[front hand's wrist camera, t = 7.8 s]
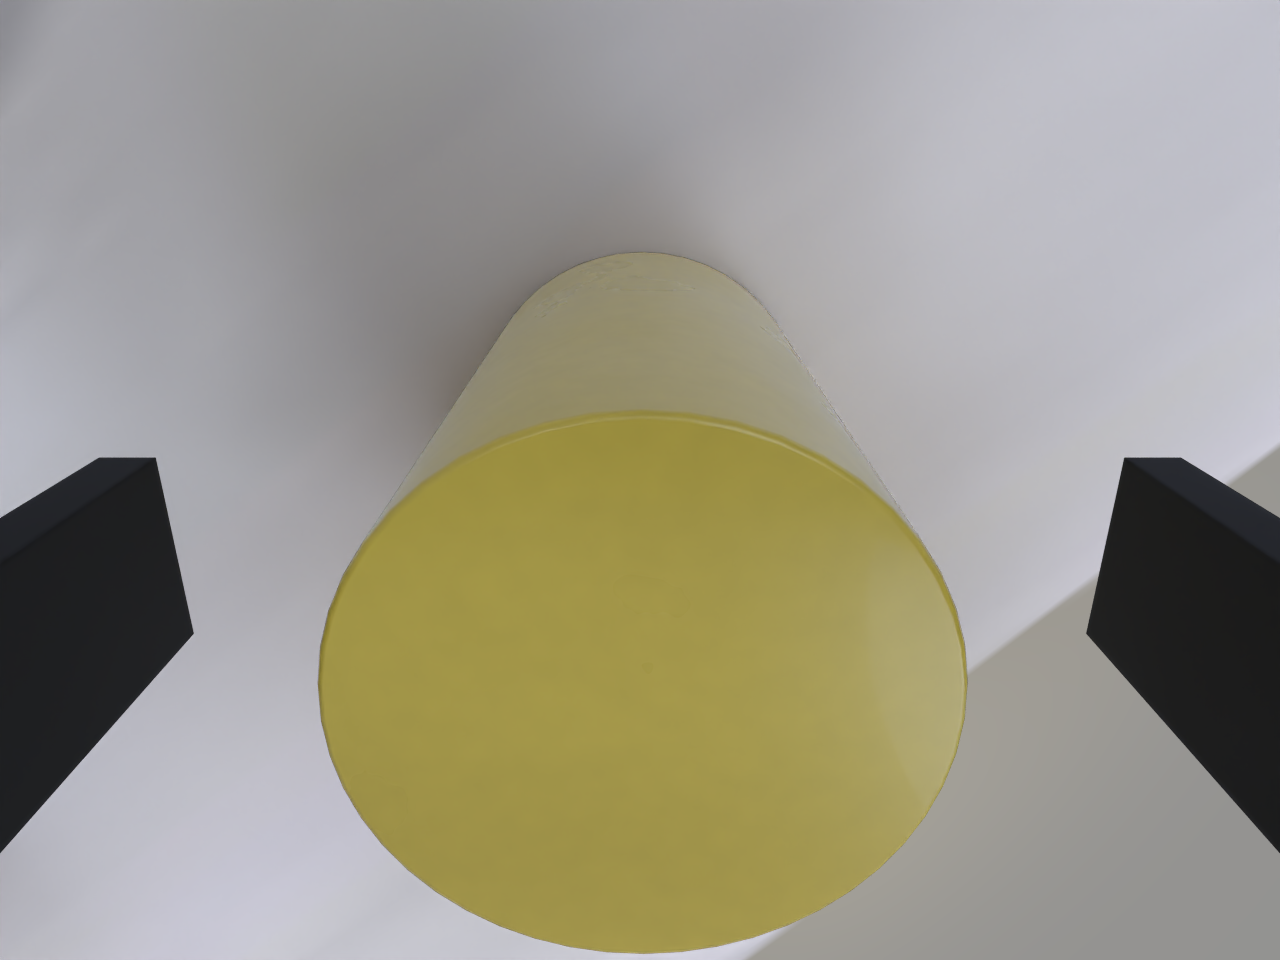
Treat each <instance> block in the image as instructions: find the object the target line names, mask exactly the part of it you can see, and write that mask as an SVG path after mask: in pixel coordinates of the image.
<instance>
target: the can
mask: <svg viewBox="0 0 1280 960" xmlns="http://www.w3.org/2000/svg"><path fill="white" fill-rule="evenodd" d="M967 683H968V678H967V665H966V652H965V643H964V638H963V634H962V630H961V626H960V622H959V618H958V614H957V609H956V607H955V604H954V602H953V599H952V597H951V595H950V592H949V590H948V587H947V585H946V583H945V580H944V578H943V576H942V573H941V571H940V570H939V568H938V567H937V565H936V563H935V562H934V560H933V558H932V557H931V555H930V554H929V552H928V550H927V549H926V547H925V546H924V544H923V542H922V541H921V539H920V538H919V536H918V535H917V533H916V532H915V530H914V529H913V527H912V526H911V524H910V523H909V521H908V520H907V518H906V517H905V515H904V514H903V512H902V511H901V509H900V508H899V506H898V505H897V503H896V502H895V500H894V499H893V497H892V496H891V494H890V493H889V491H888V490H887V488H886V487H885V485H884V484H883V482H882V481H881V479H880V478H879V476H878V475H877V473H876V472H875V470H874V469H873V467H872V466H871V464H870V463H869V461H868V460H867V458H866V457H865V455H864V454H863V452H862V451H861V449H860V448H859V446H858V445H857V444H856V442H855V441H854V439H853V438H852V436H851V435H850V433H849V432H848V430H847V429H846V427H845V426H844V424H843V423H842V421H841V420H840V418H839V417H838V415H837V414H836V412H835V411H834V409H833V408H832V406H831V405H830V403H829V402H828V400H827V399H826V397H825V396H824V394H823V393H822V391H821V390H820V388H819V387H818V385H817V384H816V382H815V381H814V379H813V378H812V376H811V375H810V373H809V372H808V370H807V369H806V367H805V366H804V364H803V363H802V361H801V360H800V358H799V357H798V355H797V354H796V352H795V351H794V349H793V348H792V346H791V345H790V344H789V342H788V341H787V339H786V338H785V336H784V335H783V333H782V332H781V330H780V329H779V327H778V326H777V324H776V323H775V321H774V320H773V318H772V317H771V316H770V314H769V313H768V312H767V311H766V310H765V308H764V307H763V306H762V305H761V304H760V302H759V301H758V300H757V299H756V298H754V297H753V296H752V295H751V294H750V293H749V292H748V291H747V290H746V289H745V288H743V287H742V286H741V285H739V284H738V283H736V282H735V281H734V280H732V279H731V278H729V277H728V276H726V275H725V274H723V273H721V272H719V271H717V270H715V269H713V268H711V267H709V266H707V265H704V264H702V263H699V262H696V261H693V260H690V259H687V258H683V257H678V256H673V255H668V254H663V253H648V252H636V253H622V254H615V255H611V256H606V257H601V258H597V259H594V260H591V261H588V262H585V263H583V264H580V265H577V266H575V267H573V268H571V269H569V270H567V271H565V272H563V273H561V274H559V275H558V276H556V277H555V278H553V279H552V280H550V281H549V282H548V283H546V284H545V285H543V286H542V287H540V288H539V289H538V290H537V291H536V292H535V293H534V294H533V295H532V296H531V297H530V298H528V299H527V300H526V301H525V302H524V303H523V305H522V306H521V307H520V308H519V310H518V311H517V312H516V313H515V314H514V316H513V317H512V318H511V319H510V321H509V322H508V324H507V325H506V327H505V329H504V330H503V332H502V333H501V335H500V336H499V338H498V339H497V341H496V342H495V344H494V345H493V347H492V348H491V350H490V351H489V353H488V354H487V356H486V357H485V359H484V360H483V362H482V363H481V365H480V366H479V368H478V369H477V371H476V372H475V374H474V375H473V377H472V378H471V380H470V381H469V383H468V384H467V386H466V387H465V389H464V390H463V392H462V393H461V395H460V396H459V398H458V399H457V401H456V402H455V404H454V405H453V407H452V408H451V410H450V411H449V413H448V414H447V416H446V417H445V419H444V420H443V422H442V423H441V425H440V426H439V428H438V429H437V431H436V432H435V434H434V435H433V437H432V438H431V440H430V441H429V443H428V445H427V446H426V448H425V449H424V451H423V452H422V454H421V455H420V457H419V458H418V460H417V461H416V463H415V464H414V466H413V467H412V469H411V470H410V472H409V473H408V475H407V476H406V478H405V479H404V481H403V482H402V484H401V485H400V487H399V488H398V490H397V491H396V493H395V494H394V496H393V497H392V499H391V500H390V502H389V503H388V505H387V506H386V508H385V509H384V511H383V512H382V514H381V515H380V517H379V518H378V520H377V521H376V523H375V524H374V526H373V527H372V529H371V530H370V532H369V533H368V535H367V536H366V538H365V539H364V541H363V543H362V544H361V546H360V548H359V549H358V551H357V552H356V554H355V556H354V557H353V559H352V561H351V562H350V564H349V566H348V567H347V569H346V571H345V572H344V574H343V576H342V578H341V581H340V583H339V586H338V588H337V591H336V593H335V596H334V598H333V601H332V603H331V605H330V608H329V610H328V615H327V619H326V623H325V627H324V632H323V636H322V640H321V645H320V655H319V670H318V692H319V703H320V714H321V722H322V726H323V730H324V734H325V738H326V742H327V746H328V750H329V754H330V757H331V760H332V762H333V764H334V767H335V769H336V772H337V774H338V776H339V779H340V781H341V784H342V786H343V788H344V790H345V792H346V793H347V795H348V797H349V798H350V800H351V802H352V803H353V805H354V807H355V809H356V810H357V812H358V814H359V815H360V817H361V818H362V820H363V821H364V822H365V824H366V825H367V826H368V827H369V829H370V830H371V831H372V832H373V834H374V835H375V836H376V837H377V839H378V840H379V841H380V843H381V844H382V845H383V846H384V847H385V848H386V849H387V850H388V851H389V852H390V853H391V854H392V855H393V856H394V857H395V858H396V859H397V860H398V861H399V862H400V863H401V864H402V865H403V866H404V867H405V868H406V869H407V870H408V871H410V872H411V873H412V874H414V875H415V876H416V877H417V878H419V879H420V880H421V881H423V882H424V883H425V884H426V885H428V886H429V887H430V888H432V889H433V890H434V891H435V892H437V893H439V894H440V895H442V896H443V897H445V898H447V899H448V900H450V901H452V902H453V903H455V904H457V905H458V906H460V907H462V908H463V909H465V910H467V911H469V912H471V913H473V914H475V915H477V916H479V917H481V918H483V919H486V920H488V921H490V922H492V923H494V924H496V925H498V926H501V927H503V928H506V929H509V930H512V931H515V932H518V933H521V934H523V935H526V936H529V937H532V938H535V939H539V940H543V941H548V942H552V943H556V944H560V945H564V946H568V947H574V948H581V949H588V950H595V951H602V952H615V953H637V954H649V953H669V952H684V951H690V950H697V949H704V948H711V947H717V946H722V945H726V944H730V943H734V942H738V941H742V940H746V939H750V938H754V937H756V936H759V935H762V934H765V933H768V932H770V931H773V930H776V929H779V928H782V927H784V926H787V925H789V924H791V923H794V922H796V921H798V920H800V919H802V918H804V917H806V916H808V915H810V914H812V913H815V912H817V911H819V910H821V909H822V908H824V907H826V906H827V905H829V904H830V903H832V902H834V901H835V900H837V899H838V898H840V897H842V896H843V895H845V894H847V893H848V892H850V891H851V890H853V889H854V888H855V887H856V886H858V885H859V884H860V883H862V882H863V881H864V880H865V879H867V878H868V877H869V876H870V875H872V874H873V873H874V872H876V871H877V870H878V869H879V868H880V867H881V866H882V865H883V864H884V863H885V862H886V861H887V860H888V859H889V858H890V857H891V856H892V855H893V854H894V853H895V852H896V851H897V850H898V849H899V848H900V847H901V846H902V845H903V844H904V843H905V842H906V841H907V839H908V838H909V837H910V835H911V834H912V833H913V832H914V830H915V829H916V828H917V826H918V825H919V824H920V823H921V821H922V820H923V819H924V817H925V816H926V814H927V813H928V811H929V809H930V808H931V806H932V804H933V802H934V801H935V799H936V797H937V795H938V794H939V792H940V790H941V789H942V787H943V785H944V782H945V780H946V777H947V775H948V773H949V770H950V768H951V765H952V763H953V760H954V758H955V755H956V752H957V748H958V744H959V740H960V736H961V731H962V727H963V723H964V719H965V708H966V695H967Z"/></svg>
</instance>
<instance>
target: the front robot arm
mask: <svg viewBox="0 0 1280 960" xmlns="http://www.w3.org/2000/svg"><path fill="white" fill-rule="evenodd" d="M193 634H194V633H193V628H192V623H191V619H190V614H189V609H188V605H187V600H186V596H185V591H184V586H183V582H182V577H181V572H180V568H179V563H178V559H177V554H176V549H175V545H174V540H173V536H172V531H171V526H170V522H169V517H168V512H167V508H166V503H165V499H164V494H163V489H162V485H161V480H160V476H159V471H158V466H157V462H156V458H98V459H96V460H94V461H93V462H91V463H90V464H88V465H86V466H85V467H83V468H81V469H80V470H78V471H76V472H75V473H73V474H72V475H70V476H68V477H67V478H65V479H63V480H62V481H60V482H58V483H57V484H55V485H54V486H52V487H50V488H49V489H47V490H45V491H44V492H42V493H40V494H39V495H37V496H36V497H34V498H32V499H31V500H29V501H27V502H26V503H24V504H22V505H21V506H19V507H18V508H16V509H14V510H13V511H11V512H9V513H8V514H6V515H4V516H3V517H1V518H0V853H1V852H2V850H3V849H4V848H5V847H6V846H7V845H8V844H9V843H10V841H11V840H12V839H13V838H14V837H15V836H16V835H17V833H18V832H19V831H20V830H21V829H22V828H23V827H24V826H25V824H26V823H27V822H28V821H29V820H30V819H31V818H32V816H33V815H34V814H35V813H36V812H37V811H38V810H39V809H40V807H41V806H42V805H43V804H44V803H45V802H46V801H47V799H48V798H49V797H50V796H51V795H52V794H53V793H54V791H55V790H56V789H57V788H58V787H59V786H60V785H61V784H62V782H63V781H64V780H65V779H66V778H67V777H68V776H69V774H70V773H71V772H72V771H73V770H74V769H75V768H76V767H77V765H78V764H79V763H80V762H81V761H82V760H83V759H84V757H85V756H86V755H87V754H88V753H89V752H90V751H91V750H92V748H93V747H94V746H95V745H96V744H97V743H98V742H99V740H100V739H101V738H102V737H103V736H104V735H105V734H106V733H107V731H108V730H109V729H110V728H111V727H112V726H113V725H114V723H115V722H116V721H117V720H118V719H119V718H120V717H121V715H122V714H123V713H124V712H125V711H126V710H127V709H128V708H129V706H130V705H131V704H132V703H133V702H134V701H135V700H136V698H137V697H138V696H139V695H140V694H141V693H142V692H143V691H144V689H145V688H146V687H147V686H148V685H149V684H150V683H151V681H152V680H153V679H154V678H155V677H156V676H157V675H158V674H159V672H160V671H161V670H162V669H163V668H164V667H165V666H166V664H167V663H168V662H169V661H170V660H171V659H172V658H173V657H174V655H175V654H176V653H177V652H178V651H179V650H180V649H181V647H182V646H183V645H184V644H185V643H186V642H187V641H188V640H189V638H190V637H191V636H192V635H193ZM1086 634H1087V635H1088V636H1089V637H1090V638H1091V639H1092V641H1093V642H1094V643H1095V644H1096V645H1097V646H1098V647H1099V649H1100V650H1101V651H1102V652H1103V653H1104V654H1105V655H1106V656H1107V658H1108V659H1109V660H1110V661H1111V662H1112V663H1113V664H1114V666H1115V667H1116V668H1117V669H1118V670H1119V671H1120V672H1121V674H1122V675H1123V676H1124V677H1125V678H1126V679H1127V680H1128V681H1129V683H1130V684H1131V685H1132V686H1133V687H1134V688H1135V689H1136V691H1137V692H1138V693H1139V694H1140V695H1141V696H1142V697H1143V698H1144V700H1145V701H1146V702H1147V703H1148V704H1149V705H1150V706H1151V708H1152V709H1153V710H1154V711H1155V712H1156V713H1157V714H1158V715H1159V717H1160V718H1161V719H1162V720H1163V721H1164V722H1165V723H1166V725H1167V726H1168V727H1169V728H1170V729H1171V730H1172V731H1173V733H1174V734H1175V735H1176V736H1177V737H1178V738H1179V739H1180V740H1181V742H1182V743H1183V744H1184V745H1185V746H1186V747H1187V748H1188V749H1189V751H1190V752H1191V753H1192V754H1193V755H1194V756H1195V757H1196V759H1197V760H1198V761H1199V762H1200V763H1201V764H1202V765H1203V766H1204V768H1205V769H1206V770H1207V771H1208V772H1209V773H1210V774H1211V776H1212V777H1213V778H1214V779H1215V780H1216V781H1217V782H1218V784H1219V785H1220V786H1221V787H1222V788H1223V789H1224V790H1225V791H1226V793H1227V794H1228V795H1229V796H1230V797H1231V798H1232V799H1233V801H1234V802H1235V803H1236V804H1237V805H1238V806H1239V807H1240V808H1241V810H1242V811H1243V812H1244V813H1245V814H1246V815H1247V816H1248V818H1249V819H1250V820H1251V821H1252V822H1253V823H1254V824H1255V826H1256V827H1257V828H1258V829H1259V830H1260V831H1261V832H1262V833H1263V835H1264V836H1265V837H1266V838H1267V839H1268V840H1269V841H1270V843H1271V844H1272V845H1273V846H1274V847H1275V848H1276V849H1277V850H1278V852H1279V853H1280V518H1279V517H1277V516H1276V515H1274V514H1272V513H1271V512H1269V511H1267V510H1266V509H1264V508H1262V507H1261V506H1259V505H1258V504H1256V503H1254V502H1253V501H1251V500H1249V499H1248V498H1246V497H1244V496H1243V495H1241V494H1240V493H1238V492H1236V491H1235V490H1233V489H1231V488H1230V487H1228V486H1226V485H1225V484H1223V483H1222V482H1220V481H1218V480H1217V479H1215V478H1213V477H1212V476H1210V475H1208V474H1207V473H1205V472H1204V471H1202V470H1200V469H1199V468H1197V467H1195V466H1194V465H1192V464H1190V463H1189V462H1187V461H1186V460H1184V459H1182V458H1124V462H1123V466H1122V471H1121V476H1120V480H1119V485H1118V489H1117V494H1116V499H1115V503H1114V508H1113V512H1112V517H1111V522H1110V526H1109V531H1108V536H1107V540H1106V545H1105V549H1104V554H1103V559H1102V563H1101V568H1100V572H1099V577H1098V582H1097V586H1096V591H1095V596H1094V600H1093V605H1092V610H1091V614H1090V619H1089V623H1088V628H1087V633H1086Z"/></svg>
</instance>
